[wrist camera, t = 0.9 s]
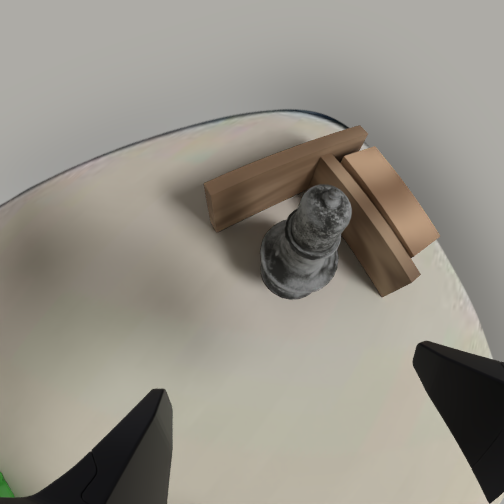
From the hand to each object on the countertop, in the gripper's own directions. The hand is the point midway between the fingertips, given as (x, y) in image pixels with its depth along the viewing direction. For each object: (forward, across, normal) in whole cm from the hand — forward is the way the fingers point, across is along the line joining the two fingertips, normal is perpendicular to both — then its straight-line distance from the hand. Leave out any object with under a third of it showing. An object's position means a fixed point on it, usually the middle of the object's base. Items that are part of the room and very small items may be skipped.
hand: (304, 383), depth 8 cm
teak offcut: (+14, -12, -4) cm, 19 cm away
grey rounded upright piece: (+15, -3, +1) cm, 16 cm away
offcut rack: (+16, -7, 0) cm, 17 cm away
